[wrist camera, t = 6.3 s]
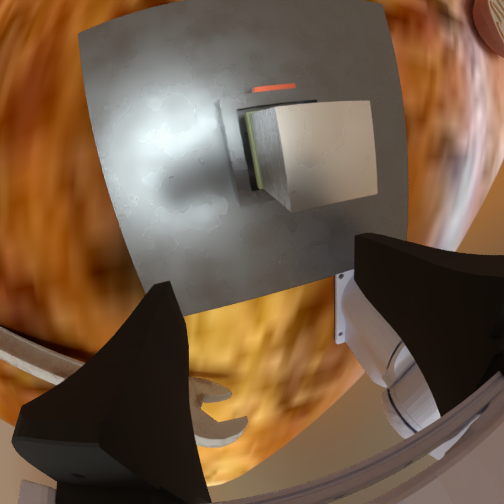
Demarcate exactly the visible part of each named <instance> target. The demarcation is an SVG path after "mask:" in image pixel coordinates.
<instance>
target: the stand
mask: <svg viewBox="0 0 504 504" xmlns="http://www.w3.org/2000/svg"><path fill="white" fill-rule="evenodd" d="M78 37H79V48H80V57H81V66H82V73H83V80H84V87H85V93H86V99H87V104H88V109H89V115H90V120H91V124H92V129H93V134H94V138H95V142H96V146H97V151H98V155H99V158H100V162H101V166H102V170H103V173H104V177H105V181H106V184H107V187H108V191H109V194H110V197H111V201H112V204H113V207H114V210H115V213H116V216H117V219H118V222H119V225H120V228H121V231H122V234H123V237H124V239H125V242H126V245H127V248H128V250H129V253H130V256H131V258H132V261H133V263H134V266H135V268H136V271H137V273H138V276H139V278H140V281H141V283H142V286H143V288H144V290H145V293H146V294H147V292H148V291H149V290H150V289H151V287H152V286H153V285H154V284H157V283H162V282H166V281H170V282H171V285H172V288H173V291H174V293H175V296H176V299H177V302H178V304H179V307H180V310H181V312H182V315H183V316H187V315H191V314H195V313H200V312H204V311H208V310H212V309H216V308H220V307H223V306H227V305H231V304H235V303H239V302H243V301H246V300H250V299H254V298H258V297H261V296H265V295H268V294H272V293H276V292H279V291H283V290H286V289H290V288H293V287H297V286H300V285H304V284H307V283H310V282H314V281H317V280H320V279H324V278H327V277H330V276H333V275H337V274H340V273H343V272H346V271H349V270H353V269H354V236H355V235H359V234H363V233H367V232H368V233H376V234H381V235H385V236H389V237H393V238H397V239H401V240H404V241H406V239H407V222H408V155H407V138H406V126H405V116H404V107H403V99H402V92H401V85H400V79H399V73H398V68H397V62H396V57H395V53H394V48H393V44H392V39H391V35H390V31H389V27H388V24H387V20H386V16H385V13H384V10H383V6H382V4H378V3H374V2H369V1H364V0H183V1H178V2H173V3H169V4H164V5H160V6H156V7H152V8H148V9H145V10H141V11H138V12H135V13H131V14H128V15H125V16H122V17H119V18H116V19H113V20H110V21H108V22H105V23H102V24H100V25H97V26H95V27H92V28H90V29H88V30H85V31H83V32H81V33H78ZM335 101H370V106H371V114H372V122H373V131H374V142H375V154H376V168H377V190H378V194H375V195H370V196H365V197H361V198H356V199H351V200H346V201H342V202H337V203H332V204H328V205H323V206H319V207H314V208H310V209H305V210H301V211H297V212H292V213H291V212H290V211H289V210H288V209H287V208H286V207H285V206H283V205H282V204H281V203H280V202H279V201H277V200H276V199H275V198H274V197H273V196H272V195H270V194H269V193H268V192H267V191H266V190H264V189H259V188H258V187H257V181H256V176H255V170H254V165H253V159H252V154H251V148H250V143H249V138H248V132H247V127H246V122H245V116H244V113H246V112H252V111H258V110H265V109H269V108H273V107H278V106H287V105H296V104H307V103H319V102H335Z"/></svg>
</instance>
